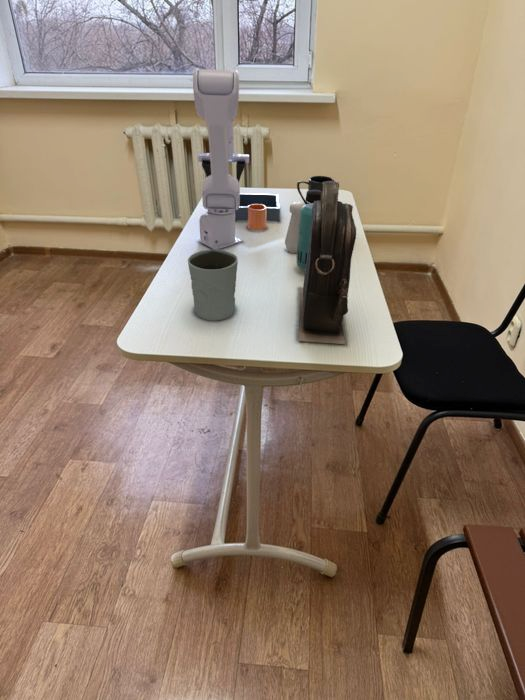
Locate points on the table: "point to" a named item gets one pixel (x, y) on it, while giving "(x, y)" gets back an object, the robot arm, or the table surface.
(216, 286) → the grey plant pot
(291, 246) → the salt shaker
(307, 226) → the beverage bottle
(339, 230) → the shoulder bag
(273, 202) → the dark grey storage bin
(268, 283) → the table surface
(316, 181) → the mug
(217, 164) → the robot arm
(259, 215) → the cup
